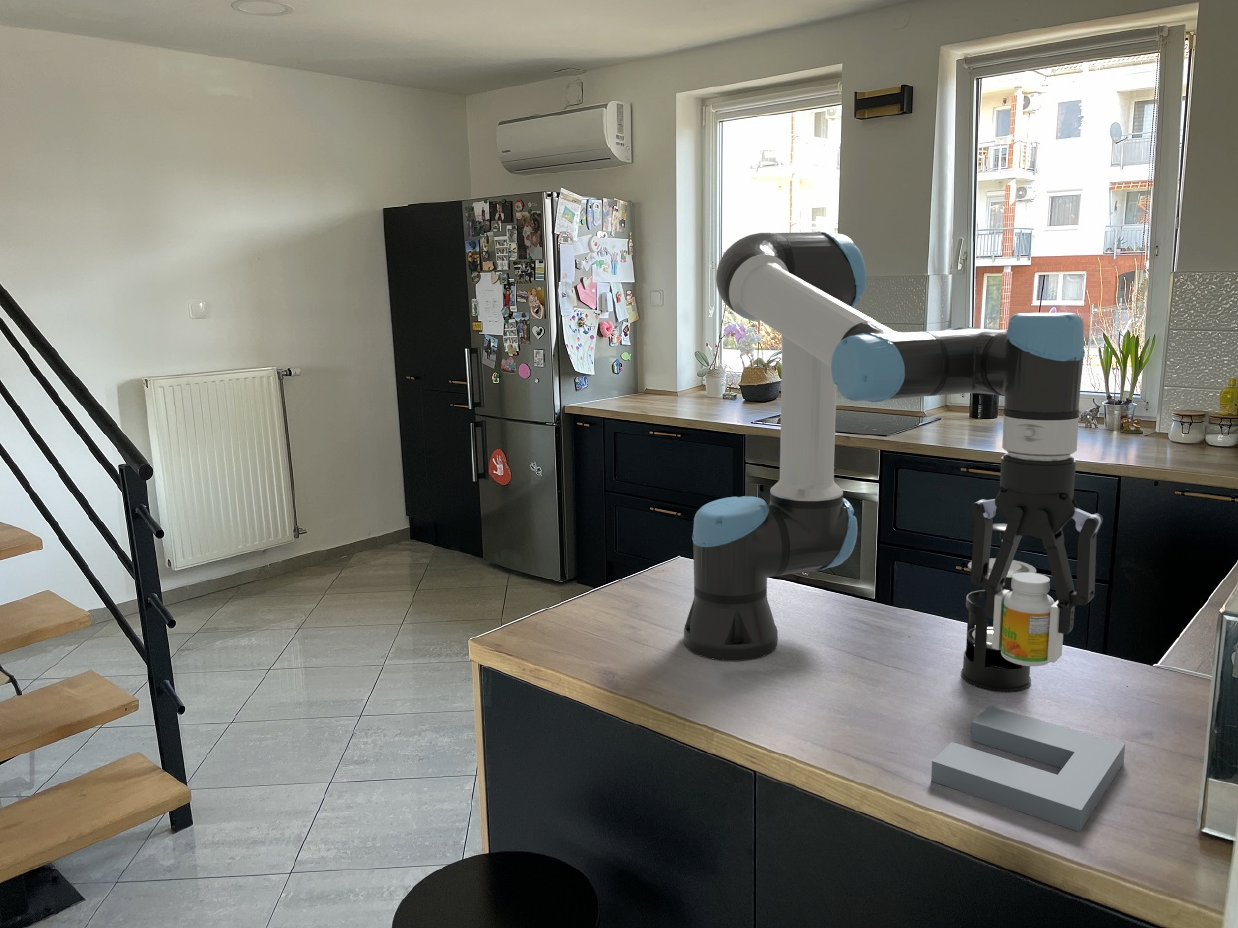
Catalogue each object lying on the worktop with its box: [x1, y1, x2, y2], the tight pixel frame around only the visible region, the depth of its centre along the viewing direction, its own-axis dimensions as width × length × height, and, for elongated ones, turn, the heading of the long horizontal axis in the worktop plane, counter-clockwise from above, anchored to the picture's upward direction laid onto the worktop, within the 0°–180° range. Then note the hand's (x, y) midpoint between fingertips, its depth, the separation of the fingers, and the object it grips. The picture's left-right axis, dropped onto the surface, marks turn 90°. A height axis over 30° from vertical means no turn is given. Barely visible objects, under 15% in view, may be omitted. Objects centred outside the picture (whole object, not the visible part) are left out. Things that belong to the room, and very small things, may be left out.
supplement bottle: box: [1001, 572, 1056, 667], centre depth 104 cm, size 5×5×10 cm
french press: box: [960, 523, 1037, 693], centre depth 130 cm, size 12×9×23 cm
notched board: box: [930, 705, 1126, 832], centre depth 107 cm, size 16×18×2 cm
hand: (1026, 651), depth 105 cm, fingers closed on supplement bottle, 5 cm apart
